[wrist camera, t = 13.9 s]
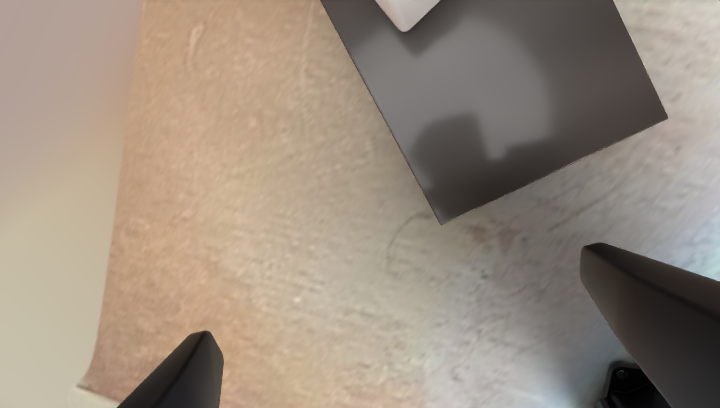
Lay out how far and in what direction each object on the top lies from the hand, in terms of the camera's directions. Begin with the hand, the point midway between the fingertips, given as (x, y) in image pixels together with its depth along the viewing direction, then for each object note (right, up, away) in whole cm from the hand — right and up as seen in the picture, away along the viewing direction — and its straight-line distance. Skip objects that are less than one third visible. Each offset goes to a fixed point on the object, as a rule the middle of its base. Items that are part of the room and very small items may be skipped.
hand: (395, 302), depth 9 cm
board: (+4, +13, +10) cm, 16 cm away
